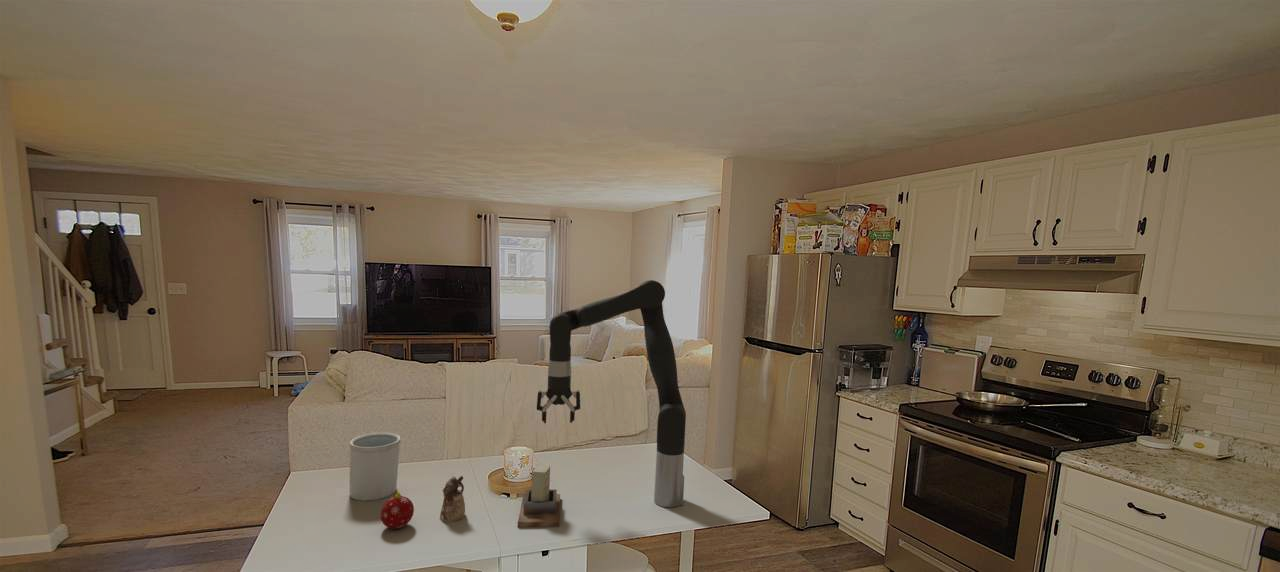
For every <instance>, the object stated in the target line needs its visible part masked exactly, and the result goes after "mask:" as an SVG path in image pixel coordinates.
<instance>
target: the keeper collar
mask: <svg viewBox="0 0 1280 572" xmlns="http://www.w3.org/2000/svg"><path fill="white" fill-rule="evenodd" d="M525 491H526V492H525V494H526V495H525V500H524V512H523V515H529V514H556V495H557V494H558V493H557V492H558V491H557V489H549V501H536V502H531V489H526V490H525Z"/></svg>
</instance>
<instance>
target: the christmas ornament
mask: <svg viewBox="0 0 1280 572" xmlns="http://www.w3.org/2000/svg"><path fill="white" fill-rule="evenodd" d="M414 507H415V506H414V503H413V501H412V500H411V499H410V498H408V497H406V496H404V495H403V496H402V494H401V493H400V491H398V492H396V494H395V496H394V497H391V498H390V499H388V500H387V501H385V503H384V505H383V506H382V507H381V511H380V520H381V522H382V524H383V525H384V526H385V527H387V528H388V529H393V530H396V529H400V528H403V527H405V526H407V525H408V523H409V522H410V521H411V520H412V519H413V516H414V512H415V508H414Z"/></svg>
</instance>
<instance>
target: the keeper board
mask: <svg viewBox="0 0 1280 572" xmlns="http://www.w3.org/2000/svg"><path fill="white" fill-rule="evenodd" d="M525 495H526V493H525V494H524V493H523V495H522V500H521V505H520V509H519V515H518V520H517V528H543V527H544V528H545V527H549V528H550V527H551V528H552V527H560V513H561V511H560V509H561V508H560V507H561V494H560V493H557V495H556V514H529V515H523V512H524V500H525Z"/></svg>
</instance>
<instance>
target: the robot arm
mask: <svg viewBox="0 0 1280 572" xmlns="http://www.w3.org/2000/svg"><path fill="white" fill-rule="evenodd" d="M665 296H666V290H665V288H664V286H663V284H661V282H658V281H656V280H651V279H650V280H649V279H648V280H646V281H643V282H642V283H640V284H639V286H636V287H634V288H633V289H631V290H628V291H627V292H623V293H620V294H618V295H614V296H611V297H607V298H604V299H600V300H599V299H598V300H596V301H593V302H590V303H587V304H584V305H582V306H579V307H577V308H574V309H569V310H566V311H563V312H559V313H557V314H555V315H553V317H552V318H551V319H550V322H549V340H550V341H549V343H550V345H549V355H548V356H549V358H548V359H549V360H548V367H547V390H546V391H542V390H538V392H537V397H536V398H537V400H536V411H540V412H541V421H542V422H543V424H547V411H548V409H549V408H550V407H551V406H552V405H553V406H557V405H560V406H564V405H566V406H567V407H568V408H569V410H570V411H569V412H570V413H569V423H571V424H573V422H574V421H575V415H576V414H575V412H576V411H579V410H580V409H581V394H580V393H581V392H580V390H579V389H578V390H576V391H572V390H571V388H572V387H571V384H572V383H571V382H572V381H571V380H572V362H571V360H572V348H571V347H572V346H571V337H572V331H574V330H577V329H579V328H583V327H584V328H586V327H589V326H593V325H595V324H596V325H597V324H598V323H601V322H604V321H607V320H609V319H611V318H615V317H617V316H620V315H622V314H626V313H628V312H632V311H636V310H640V314H641V317H642V323H643V328H644V330H643V331H644V341H645V350H646V355H647V360H648V366H649V369H650V372H651V375H652V378H653V381H654V384H655V385H656V386H655V387H656V389H657V395H658V404H659V405H658V406H659V407H658V408H659V412H658V416H657V421H656V423H657V427H656V455H655V456H656V458H655V459H656V460H655V475H654V476H655V478H654V495H653V497H654V498H653V500H654V501H653V502H654V503H655V504H656V505H658V506H660V507H663V508H676V506H677V507H679V506H683V505H684V492H685V491H684V490H685V476H684V458H685V444H686V443H685V441H686V422H687V421H686V419H687V414H686V413H687V412H686V409H685V406H684V403H683V399H682V396H681V393H680V392H681V391H680V388H679V381H678V367H677V359H676V353H675V349H674V345H673V344H674V343H673V340H672V337H671V334H670V331H669V329H668V326H667V324H666V320H665V314H664V307H663V301H664V300H665ZM545 396H546V397H547V401H546V403H545V404H544V405H543V406H542V405H541V404H542V399H544V398H545ZM571 397H573V398H574V399H575V404H576V405H573V404H572V402H571V400H570V399H571Z"/></svg>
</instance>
